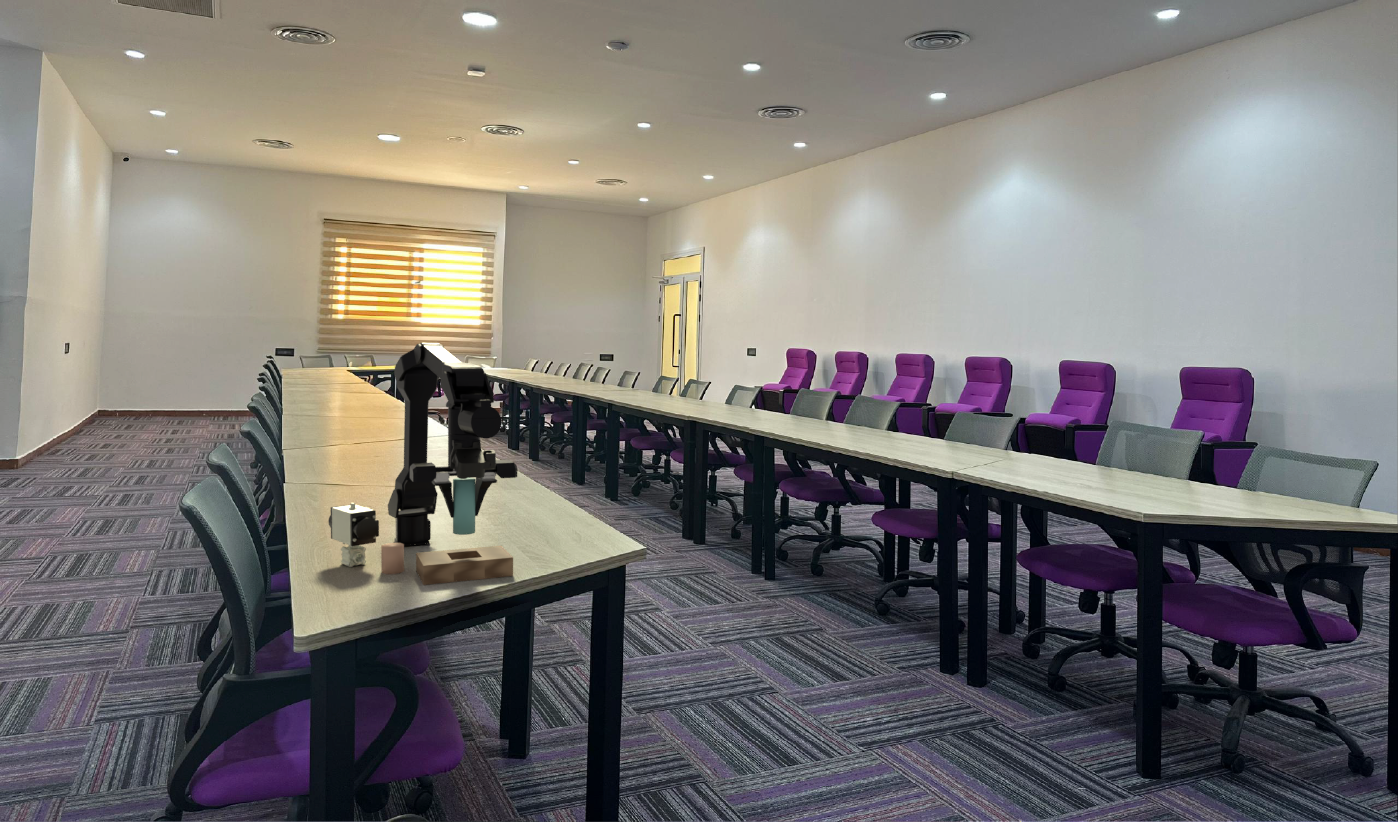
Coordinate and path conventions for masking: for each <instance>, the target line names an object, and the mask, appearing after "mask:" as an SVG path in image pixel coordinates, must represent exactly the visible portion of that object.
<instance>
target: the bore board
mask: <svg viewBox="0 0 1398 822" xmlns="http://www.w3.org/2000/svg"><path fill="white" fill-rule="evenodd" d="M415 556H416V557H415V558H416V559H415V572H416V573H417V575H418V578H419V579H420V581H421V583H422V585H423V586H425V585H426V586H427V585H436V584H437V585H438V584H444V583H446V584H447V583H457V582H466V581H476V580H485V579H495V578H505V577H507V578H508V577H514V557H513V556H512V555H511V553H510V552H508V551H507V549H505V547H503V546H502V545H494V546H493V545H492V546H481V547H479V546H478V547H469V548H468V547H467V548H458V549H457V548H456V549H455V548H454V549H445V550H435V551H434V550H432V551H423V552H421V551H420V552H416V553H415Z"/></svg>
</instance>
